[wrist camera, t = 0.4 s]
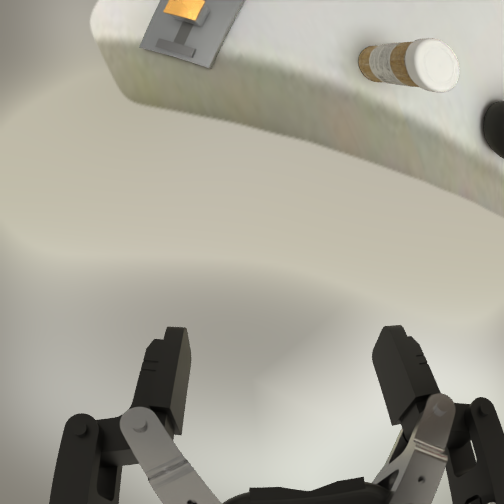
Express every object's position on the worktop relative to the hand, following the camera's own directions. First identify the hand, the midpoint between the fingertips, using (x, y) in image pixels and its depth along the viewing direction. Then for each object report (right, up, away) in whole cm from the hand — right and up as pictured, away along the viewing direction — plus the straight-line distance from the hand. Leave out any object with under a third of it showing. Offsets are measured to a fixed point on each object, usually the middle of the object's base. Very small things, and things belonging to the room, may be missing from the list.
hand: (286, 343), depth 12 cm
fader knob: (-7, +27, +11) cm, 30 cm away
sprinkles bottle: (+13, +25, +16) cm, 32 cm away
